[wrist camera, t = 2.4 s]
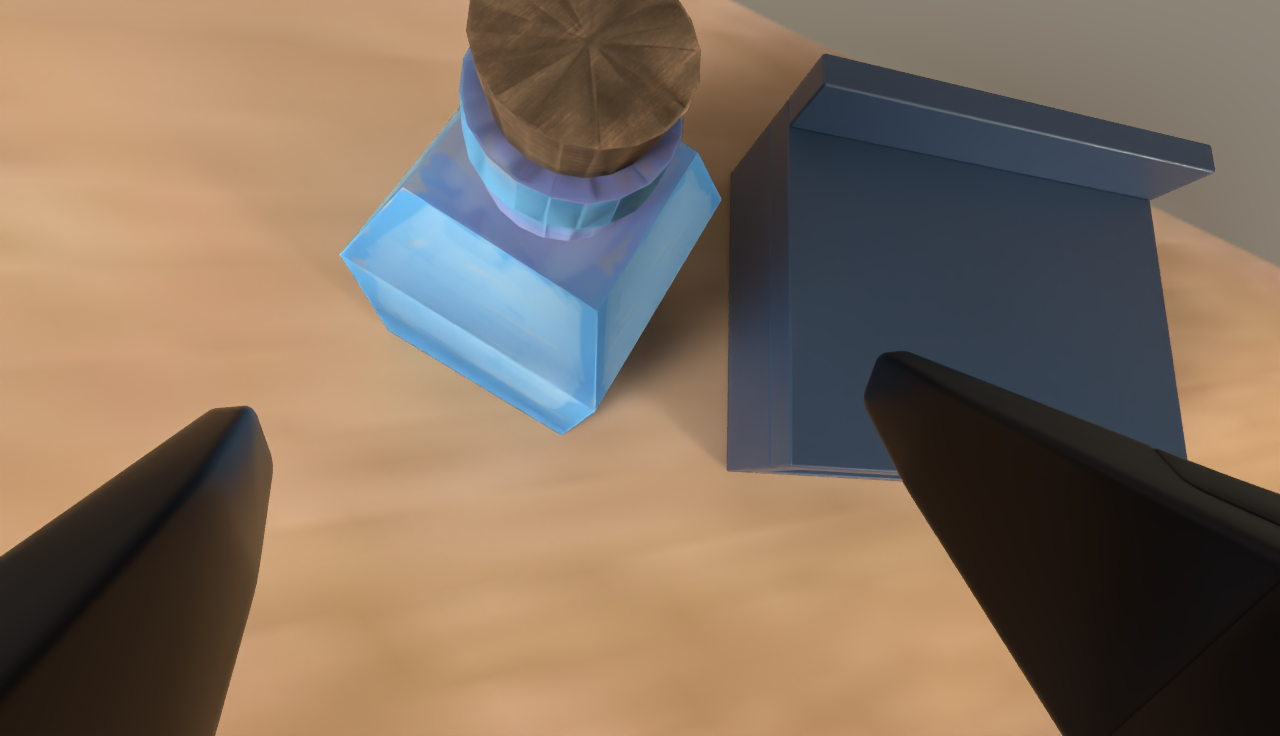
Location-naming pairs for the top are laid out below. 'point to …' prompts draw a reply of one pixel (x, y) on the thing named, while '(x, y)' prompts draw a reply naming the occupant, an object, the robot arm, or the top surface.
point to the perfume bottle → (546, 202)
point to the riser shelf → (942, 263)
